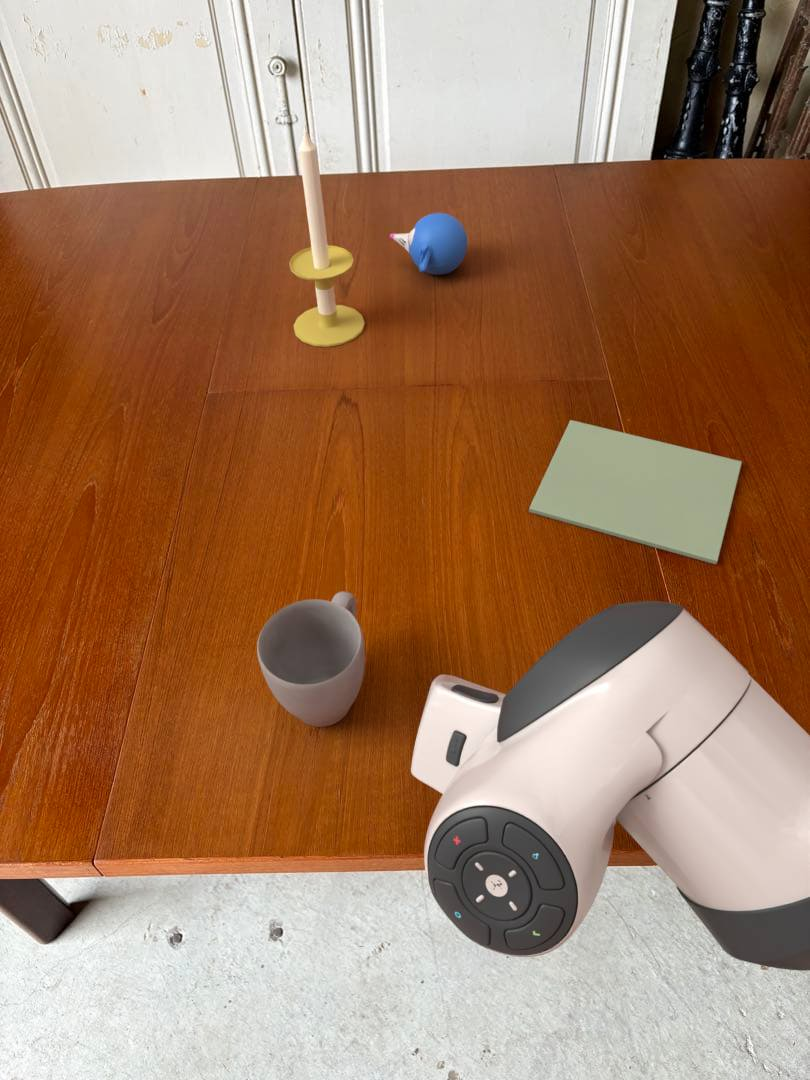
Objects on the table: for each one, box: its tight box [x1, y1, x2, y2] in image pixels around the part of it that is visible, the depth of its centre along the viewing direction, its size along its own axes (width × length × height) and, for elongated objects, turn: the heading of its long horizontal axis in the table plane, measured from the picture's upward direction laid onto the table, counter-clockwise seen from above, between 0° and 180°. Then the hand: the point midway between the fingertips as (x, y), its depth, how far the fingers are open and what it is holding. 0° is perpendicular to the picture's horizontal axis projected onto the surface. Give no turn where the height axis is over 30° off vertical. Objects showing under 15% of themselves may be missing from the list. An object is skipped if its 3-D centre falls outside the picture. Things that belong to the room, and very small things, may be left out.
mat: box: [528, 419, 743, 565], centre depth 90 cm, size 20×16×1 cm
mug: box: [256, 590, 366, 728], centre depth 71 cm, size 12×9×10 cm
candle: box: [288, 124, 366, 348], centre depth 104 cm, size 10×10×27 cm
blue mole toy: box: [389, 212, 468, 276], centre depth 120 cm, size 12×12×8 cm
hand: (573, 724), depth 63 cm, fingers open, 8 cm apart
